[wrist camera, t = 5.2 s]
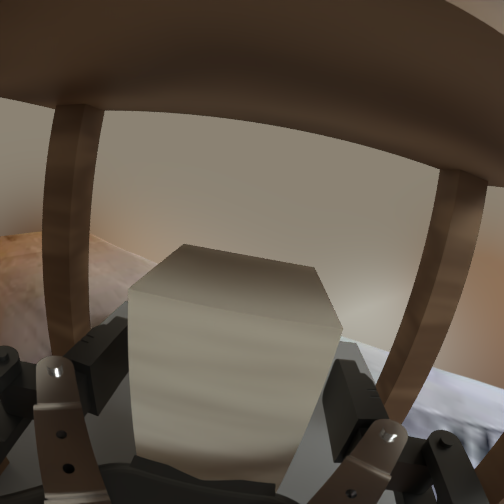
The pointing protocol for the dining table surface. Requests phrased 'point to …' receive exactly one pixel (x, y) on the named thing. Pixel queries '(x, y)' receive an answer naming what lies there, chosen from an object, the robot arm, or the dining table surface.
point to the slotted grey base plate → (123, 446)
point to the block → (227, 362)
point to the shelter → (275, 122)
